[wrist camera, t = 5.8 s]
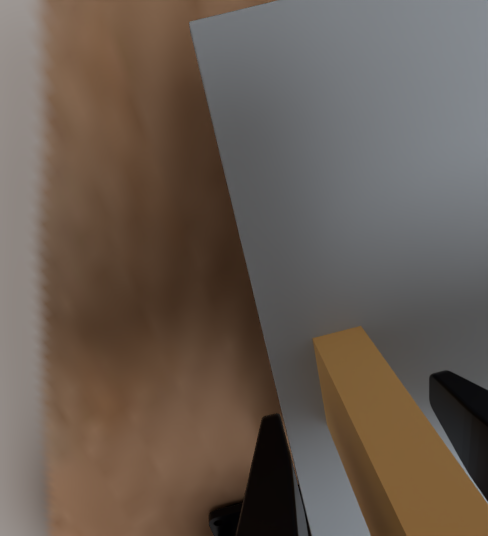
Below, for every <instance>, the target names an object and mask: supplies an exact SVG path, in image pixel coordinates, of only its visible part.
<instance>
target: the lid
mask: <svg viewBox="0 0 488 536" xmlns="http://www.w3.org/2000/svg"><path fill="white" fill-rule="evenodd" d="M189 25H190V32H191V36H192V41H193V45H194V49H195V53H196V57H197V61H198V66H199V70H200V74H201V78H202V82H203V86H204V91H205V95H206V99H207V103H208V107H209V111H210V115H211V120H212V124H213V128H214V132H215V136H216V140H217V145H218V149H219V153H220V157H221V161H222V165H223V170H224V174H225V178H226V182H227V186H228V190H229V194H230V199H231V203H232V207H233V211H234V215H235V219H236V224H237V228H238V232H239V236H240V240H241V244H242V249H243V253H244V257H245V261H246V265H247V269H248V273H249V278H250V282H251V286H252V290H253V294H254V298H255V303H256V307H257V311H258V315H259V319H260V323H261V328H262V332H263V336H264V340H265V344H266V348H267V353H268V357H269V361H270V365H271V369H272V373H273V377H274V382H275V386H276V390H277V394H278V398H279V402H280V407H281V411H282V415H283V419H284V423H285V427H286V432H287V436H288V440H289V444H290V448H291V452H292V456H293V461H294V465H295V469H296V473H297V477H298V481H299V486H300V490H301V494H302V498H303V502H304V506H305V511H306V515H307V519H308V523H309V527H310V531H311V535H312V536H488V501H487V500H486V498H485V497H484V496H483V494H482V493H481V491H480V490H479V488H478V487H477V485H476V484H475V483H474V481H473V480H472V478H471V477H470V475H469V473H468V472H467V470H466V469H465V467H464V465H463V463H462V462H461V460H460V458H459V456H458V455H457V453H456V451H455V449H454V447H453V446H452V444H451V442H450V440H449V438H448V437H447V435H446V433H445V431H444V429H443V428H442V426H441V424H440V422H439V420H438V419H437V417H436V415H435V413H434V412H433V410H432V408H431V405H430V402H429V377H430V375H431V374H432V373H436V372H440V371H444V370H448V371H451V372H453V373H455V374H457V375H459V376H461V377H463V378H465V379H467V380H469V381H471V382H473V383H475V384H477V385H479V386H481V387H483V388H485V389H487V390H488V0H278V1H273V2H269V3H265V4H261V5H257V6H253V7H249V8H245V9H240V10H236V11H232V12H228V13H224V14H220V15H216V16H212V17H207V18H203V19H199V20H195V21H191V22H189Z"/></svg>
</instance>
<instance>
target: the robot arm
mask: <svg viewBox="0 0 488 536" xmlns="http://www.w3.org/2000/svg"><path fill="white" fill-rule="evenodd" d="M429 402H430V405H431V408H432V410H433V412H434V413H435V415H436V417H437V419H438V420H439V422H440V424H441V426H442V428H443V429H444V431H445V433H446V435H447V437H448V438H449V440H450V442H451V444H452V446H453V447H454V449H455V451H456V453H457V455H458V456H459V458H460V460H461V462H462V463H463V465H464V467H465V469H466V470H467V472H468V473H469V475H470V477H471V478H472V480H473V481H474V483H475V484H476V485H477V487H478V488H479V490H480V491H481V493H482V494H483V496H484V497H485V498H486V500H487V501H488V390H487V389H485V388H483V387H481V386H479V385H477V384H475V383H473V382H471V381H469V380H467V379H465V378H463V377H461V376H459V375H457V374H455V373H453V372H451V371H448V370H444V371H440V372H436V373H432V374H431V375H430V377H429ZM209 526H210V528H211V530H212V533H213V535H214V536H312V535H311V531H310V527H309V523H308V519H307V515H306V511H305V506H304V502H303V498H302V494H301V490H300V488H298V484H297V480H296V476H295V472H294V467H293V463H292V459H291V455H290V451H289V447H288V444H287V440H286V436H285V432H284V429H283V425H282V421H281V417H280V415H279V414H278V413H276V414H272V415H268V416H264V417H263V418H262V420H261V424H260V429H259V433H258V438H257V442H256V447H255V451H254V456H253V460H252V465H251V469H250V474H249V478H248V483H247V487H246V491H245V496H244V500H243V503H241V504H237V505H233V506H229V507H226V508H222V509H218V510H215V511H212V512H211V513H210V514H209Z"/></svg>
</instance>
